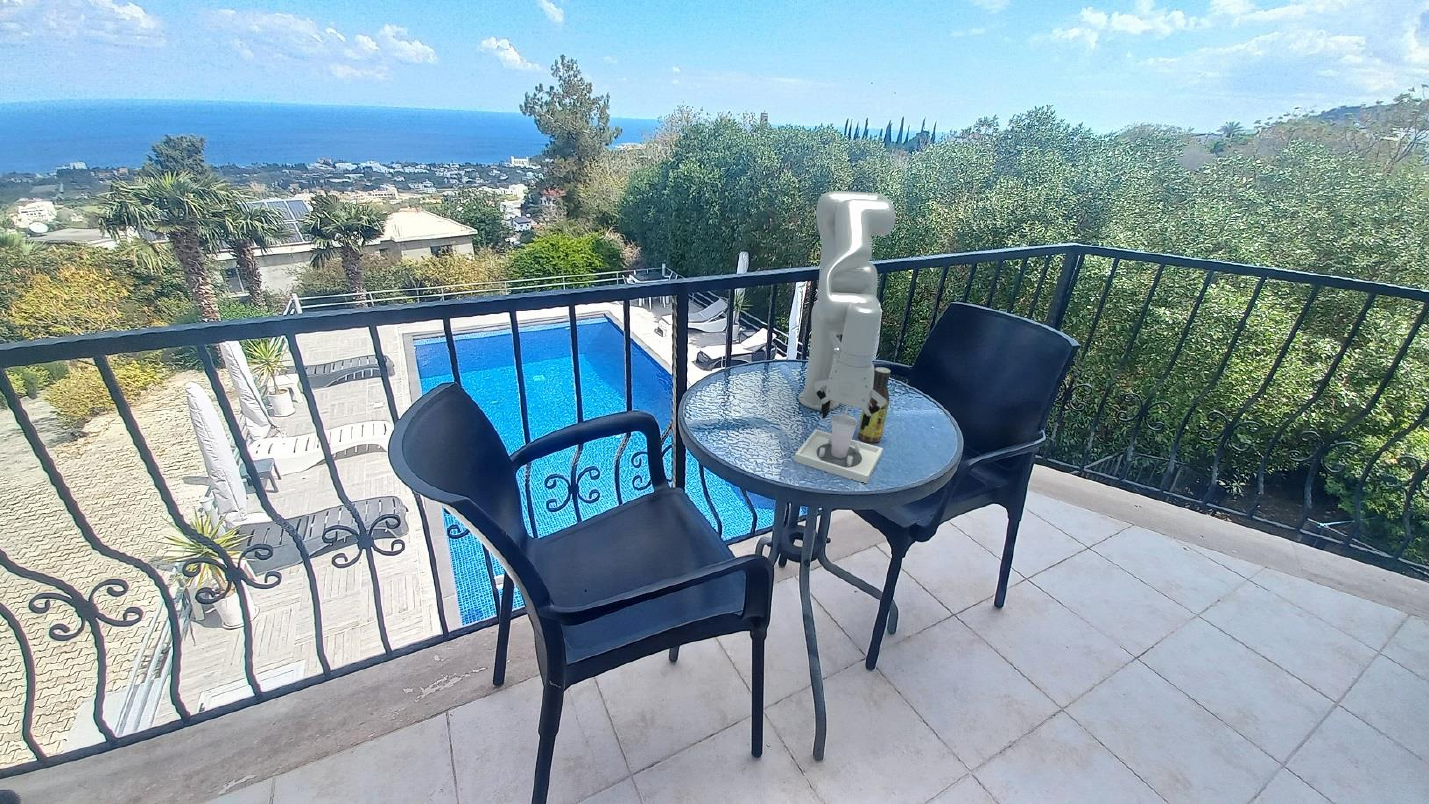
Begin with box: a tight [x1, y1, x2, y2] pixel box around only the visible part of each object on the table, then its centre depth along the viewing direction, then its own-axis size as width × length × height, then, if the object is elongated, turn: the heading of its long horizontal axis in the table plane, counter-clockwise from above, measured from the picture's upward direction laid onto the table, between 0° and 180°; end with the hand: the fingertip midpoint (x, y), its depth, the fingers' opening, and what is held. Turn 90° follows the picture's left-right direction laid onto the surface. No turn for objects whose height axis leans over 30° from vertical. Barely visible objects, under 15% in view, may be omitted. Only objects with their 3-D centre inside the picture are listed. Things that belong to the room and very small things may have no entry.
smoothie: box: [830, 405, 859, 458], centre depth 132 cm, size 6×6×14 cm
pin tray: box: [793, 428, 884, 484], centre depth 134 cm, size 15×18×4 cm
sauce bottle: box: [857, 366, 892, 444], centre depth 141 cm, size 7×6×20 cm
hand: (844, 421), depth 131 cm, fingers open, 9 cm apart
